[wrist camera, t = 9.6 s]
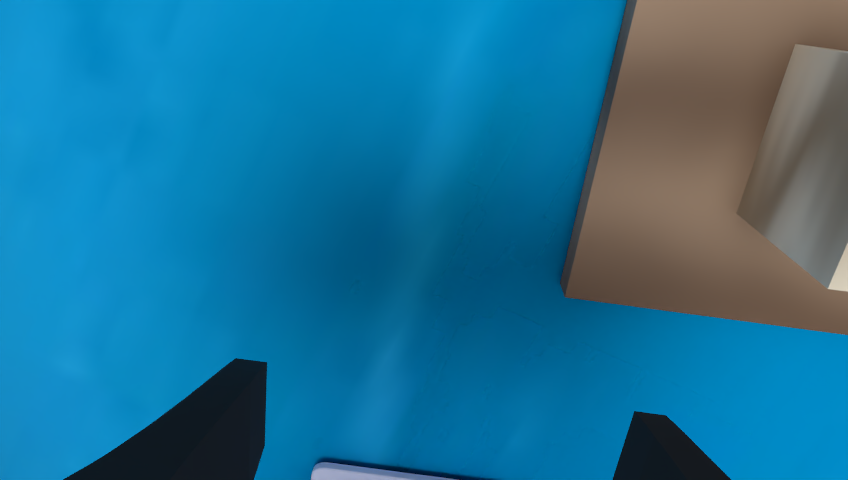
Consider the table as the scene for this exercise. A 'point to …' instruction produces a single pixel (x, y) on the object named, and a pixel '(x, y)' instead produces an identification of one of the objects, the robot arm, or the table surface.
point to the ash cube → (806, 167)
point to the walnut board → (696, 164)
